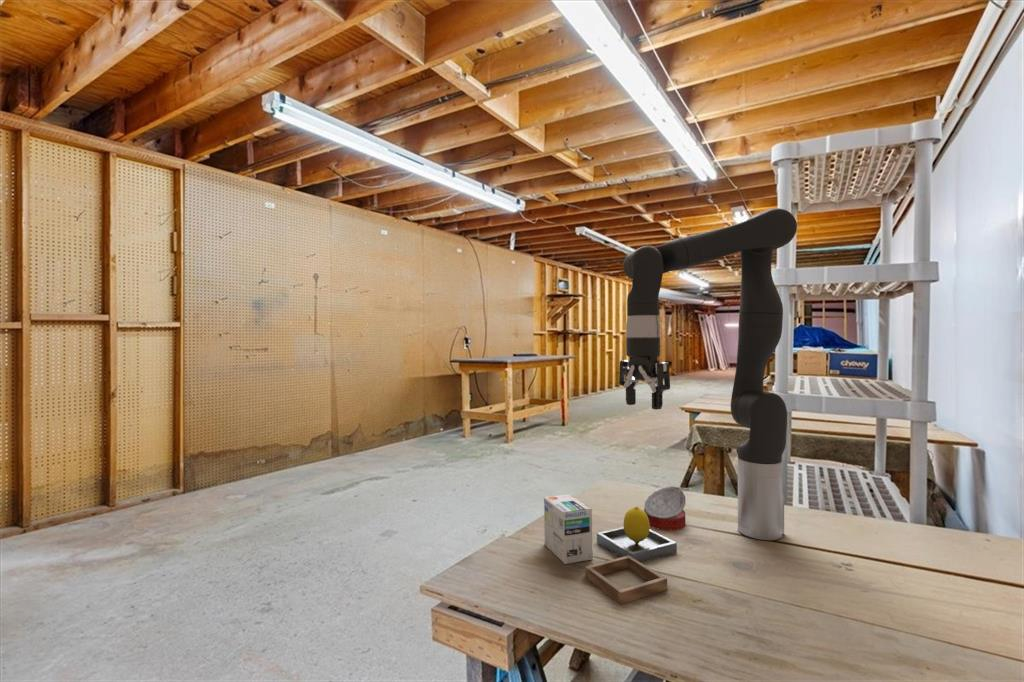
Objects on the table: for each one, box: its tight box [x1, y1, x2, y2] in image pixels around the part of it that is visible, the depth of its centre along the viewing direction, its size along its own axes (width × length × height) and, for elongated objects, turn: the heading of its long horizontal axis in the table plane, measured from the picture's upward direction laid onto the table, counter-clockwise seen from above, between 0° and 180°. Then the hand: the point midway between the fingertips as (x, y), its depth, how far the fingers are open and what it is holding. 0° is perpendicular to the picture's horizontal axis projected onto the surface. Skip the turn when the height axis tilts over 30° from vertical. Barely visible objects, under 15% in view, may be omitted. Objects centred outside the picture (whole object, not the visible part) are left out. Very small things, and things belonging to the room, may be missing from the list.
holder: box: [584, 555, 668, 605], centre depth 90 cm, size 11×11×2 cm
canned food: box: [643, 485, 687, 531], centre depth 120 cm, size 11×10×10 cm
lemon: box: [623, 506, 651, 544], centre depth 105 cm, size 6×6×8 cm
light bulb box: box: [543, 493, 594, 565], centre depth 104 cm, size 11×7×11 cm, turn 20°
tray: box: [596, 526, 678, 564], centre depth 106 cm, size 12×12×2 cm
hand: (643, 406), depth 110 cm, fingers open, 8 cm apart
